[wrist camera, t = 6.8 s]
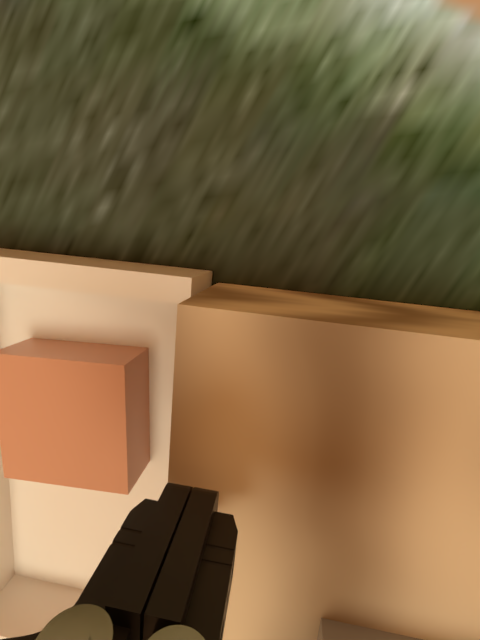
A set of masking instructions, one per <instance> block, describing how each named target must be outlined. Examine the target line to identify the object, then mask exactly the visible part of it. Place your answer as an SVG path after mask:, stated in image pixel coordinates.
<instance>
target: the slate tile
mask: <svg viewBox="0 0 480 640" xmlns="http://www.w3.org/2000/svg"><path fill="white" fill-rule="evenodd" d="M317 640H423V639H418V638H414V637H409V636H404V635H400V634H395V633H390V632H385V631H381V630H376V629H371V628H367V627H362V626H357V625H353V624H348V623H343V622H339V621H334V620H329V619H325V618H321V620H320V626H319V631H318V636H317Z"/></svg>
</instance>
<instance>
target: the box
mask: <svg viewBox="0 0 480 640" xmlns="http://www.w3.org/2000/svg"><path fill="white" fill-rule="evenodd" d="M212 273H213V271H210V270H201V269H191V268H182V267H173V266H163V265H154V264H145V263H135V262H126V261H117V260H107V259H98V258H89V257H79V256H70V255H61V254H51V253H42V252H33V251H23V250H14V249H5V248H0V349H2V348H5V347H8V346H10V345H13V344H16V343H19V342H21V341H24V340H27V339H30V338H41V339H53V340H64V341H76V342H88V343H100V344H112V345H123V346H135V347H147V348H149V416H150V462H149V463H148V465H147V466H146V468H145V469H144V471H143V473H142V474H141V476H140V477H139V479H138V480H137V482H136V483H135V485H134V487H133V488H132V490H131V491H130V493H129V494H128V495H125V494H118V493H111V492H104V491H96V490H89V489H82V488H75V487H68V486H61V485H54V484H46V483H39V482H32V481H25V480H18V479H11V478H4V472H3V464H2V455H1V447H0V639H6V638H13V637H20V636H26V635H30V634H34V633H37V632H40V631H42V629H43V628H44V627H45V626H46V624H47V623H48V622H49V621H50V620H52V619H53V618H54V617H55V616H56V615H58V614H59V613H61V612H62V611H64V610H66V609H68V608H70V607H73V606H74V605H75V603H76V602H77V600H78V599H79V597H80V595H81V593H82V592H83V590H84V588H85V587H86V585H87V583H88V582H89V580H90V578H91V577H92V575H93V573H94V571H95V570H96V568H97V566H98V565H99V563H100V561H101V560H102V558H103V556H104V555H105V553H106V551H107V549H108V548H109V546H110V544H112V542H113V539H114V538H115V536H116V534H117V532H118V531H119V530H120V529H121V526H122V524H123V522H124V521H125V519H126V517H127V516H128V514H129V512H130V511H131V510H132V509H133V508H134V507H136V506H137V505H138V504H139V503H140V502H142V501H143V500H144V499H145V498H146V499H151V500H156V501H158V500H159V498H160V496H161V494H162V492H163V490H164V488H165V486H166V484H167V483H168V468H169V450H170V432H171V413H172V395H173V377H174V358H175V340H176V322H177V304H179V303H181V302H183V301H184V300H186V299H188V298H190V297H192V296H194V295H196V294H198V293H200V292H201V291H203V290H205V289H207V288H209V287H211V286H212Z"/></svg>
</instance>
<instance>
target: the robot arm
mask: <svg viewBox="0 0 480 640" xmlns="http://www.w3.org/2000/svg"><path fill="white" fill-rule="evenodd" d="M218 500H219V491H214V490H209V489H203V488H198V487H194V488H193V487H191V486H186V485H180V484H175V483H169V482H168V483H167V484H166V486H165V488H164V490H163V492H162V494H161V496H160V498H159V500H158V501H156V500H151V499H146V498H145V499H144V500H143V501H142V502H140V503H139V504H138V505H137V506H136V507H134V508H133V509H132V510H131V511H130V512H129V514H128V516H127V517H126V519H125V521H124V522H123V524H122V526H121V529H120V530H119V531H118V532H117V534H116V536H115V538H114V539H113V542H112V544H110V546H109V548H108V549H107V551H106V553H105V555H104V556H103V558H102V560H101V561H100V563H99V565H98V566H97V568H96V570H95V571H94V573H93V575H92V577H91V578H90V580H89V582H88V583H87V585H86V587H85V588H84V590H83V592H82V593H81V595H80V597H79V599H78V600H77V602H76V603H75V605H74V606H73V607H70V608H68V609H66V610H64V611H62V612H61V613H59V614H58V615H56V616H55V617H54V618H53V619H52V620H50V621H49V622H48V623H47V624H46V626H45V627H44V628H43V629H42V631H40V632H37V633H34V634H30V635H26V636H20V637H13V638H6V639H0V640H222V638H223V632H224V626H225V620H226V614H227V608H228V602H229V596H230V590H231V584H232V578H233V570H234V561H235V553H236V544H237V535H238V530H237V526H236V523H235V520H234V516H233V515H231V514H226V513H221V512H217V510H218Z"/></svg>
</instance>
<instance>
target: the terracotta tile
mask: <svg viewBox="0 0 480 640" xmlns="http://www.w3.org/2000/svg"><path fill="white" fill-rule="evenodd" d="M0 447H1V455H2V464H3V472H4V478H11V479H18V480H25V481H32V482H39V483H46V484H54V485H61V486H68V487H75V488H82V489H89V490H96V491H104V492H111V493H118V494H125V495H128V494H129V493H130V491H131V490H132V488H133V487H134V485H135V483H136V482H137V480H138V479H139V477H140V476H141V474H142V473H143V471H144V469H145V468H146V466H147V465H148V463H149V462H150V416H149V348H147V347H135V346H123V345H112V344H100V343H88V342H76V341H64V340H53V339H41V338H30V339H27V340H24V341H21V342H19V343H16V344H13V345H10V346H8V347H5V348H2V349H0Z"/></svg>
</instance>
